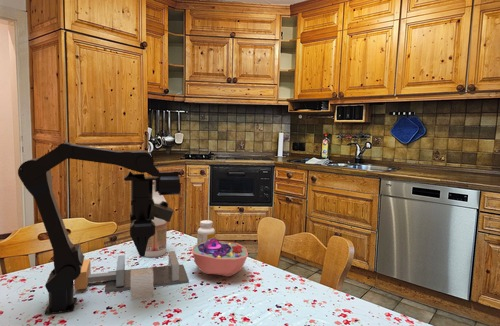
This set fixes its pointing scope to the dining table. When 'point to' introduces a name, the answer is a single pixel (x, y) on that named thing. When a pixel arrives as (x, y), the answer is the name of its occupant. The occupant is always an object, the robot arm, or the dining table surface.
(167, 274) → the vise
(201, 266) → the cell model
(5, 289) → the dining table surface
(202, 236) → the supplement bottle
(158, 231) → the fruit juice
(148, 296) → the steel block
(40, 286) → the dining table surface
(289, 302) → the dining table surface
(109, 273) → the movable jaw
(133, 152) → the robot arm
